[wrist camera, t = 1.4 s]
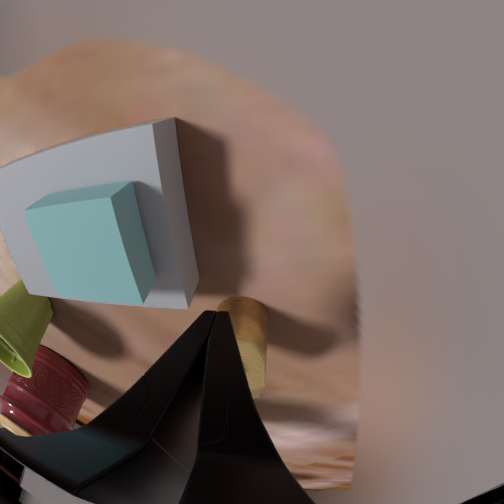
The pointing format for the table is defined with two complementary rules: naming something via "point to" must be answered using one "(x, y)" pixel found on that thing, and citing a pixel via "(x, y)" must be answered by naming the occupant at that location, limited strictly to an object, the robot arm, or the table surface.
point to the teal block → (93, 243)
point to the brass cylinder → (250, 338)
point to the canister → (43, 397)
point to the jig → (105, 172)
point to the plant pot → (22, 327)
